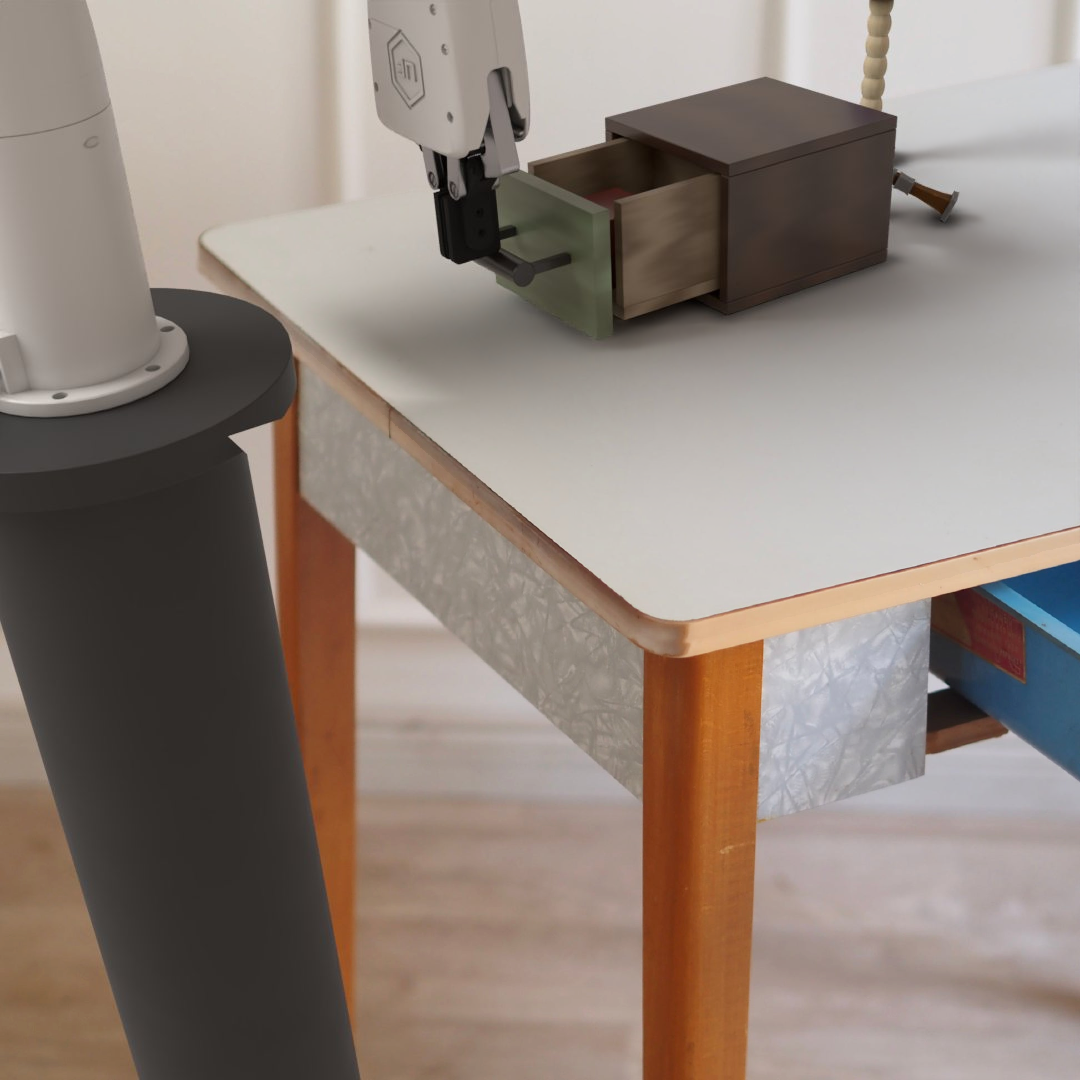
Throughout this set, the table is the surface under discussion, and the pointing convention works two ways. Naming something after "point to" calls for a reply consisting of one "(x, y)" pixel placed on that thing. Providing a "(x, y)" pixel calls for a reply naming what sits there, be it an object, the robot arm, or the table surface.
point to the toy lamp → (876, 53)
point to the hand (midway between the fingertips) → (471, 254)
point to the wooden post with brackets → (925, 194)
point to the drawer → (608, 233)
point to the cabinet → (780, 181)
